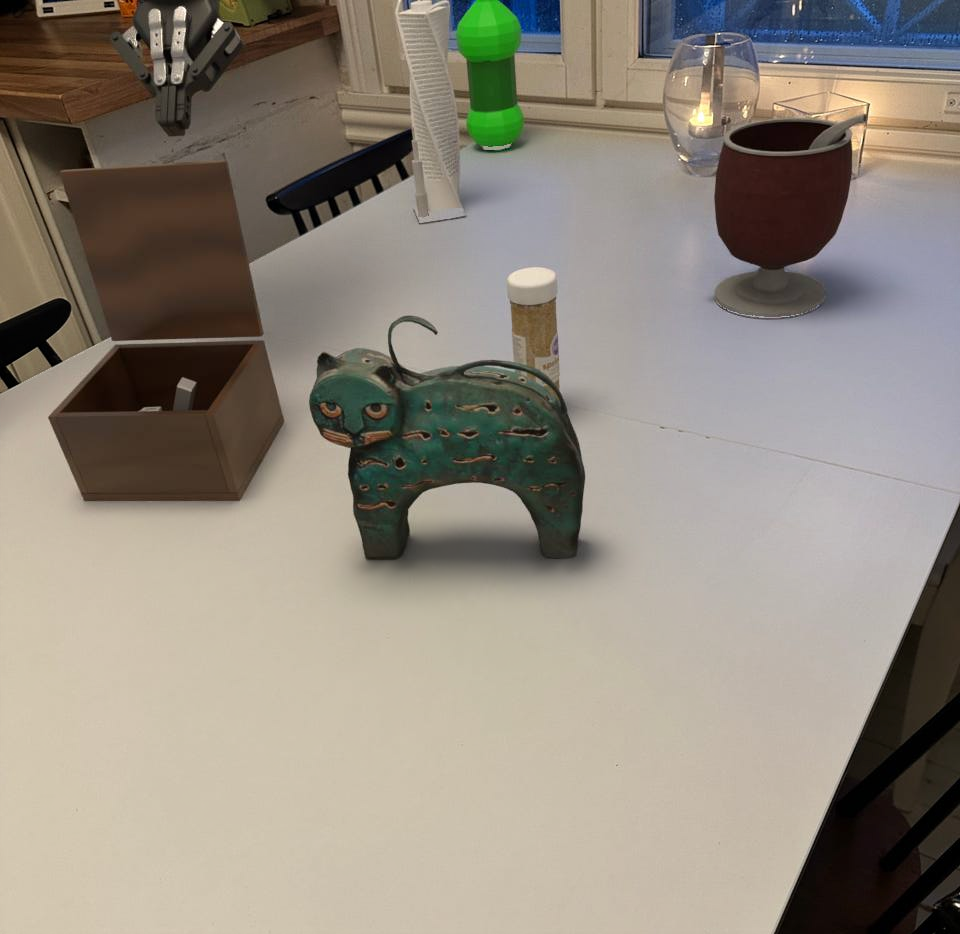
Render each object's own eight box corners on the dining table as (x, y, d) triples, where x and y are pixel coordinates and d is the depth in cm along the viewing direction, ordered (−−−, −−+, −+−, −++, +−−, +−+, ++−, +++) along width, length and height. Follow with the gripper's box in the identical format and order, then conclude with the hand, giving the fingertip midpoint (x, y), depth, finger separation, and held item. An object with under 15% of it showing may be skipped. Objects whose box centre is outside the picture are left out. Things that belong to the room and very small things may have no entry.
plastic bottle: (459, 156, 164) (442, -19, 148) (479, 138, 172) (465, -30, 155) (515, 156, 161) (504, -23, 145) (533, 137, 169) (524, -34, 152)
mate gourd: (682, 302, 112) (692, 111, 98) (755, 264, 118) (774, 80, 105) (796, 337, 102) (824, 132, 89) (869, 294, 109) (905, 97, 95)
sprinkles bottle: (561, 419, 94) (555, 283, 85) (514, 420, 94) (504, 286, 85) (562, 396, 97) (557, 263, 88) (517, 398, 98) (508, 266, 89)
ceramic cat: (342, 567, 79) (288, 335, 66) (360, 522, 84) (313, 297, 70) (584, 570, 76) (579, 327, 62) (588, 523, 80) (584, 287, 67)
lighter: (143, 463, 93) (115, 388, 88) (149, 454, 94) (122, 379, 89) (213, 460, 92) (189, 384, 87) (218, 451, 94) (195, 375, 88)
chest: (239, 500, 88) (213, 414, 82) (83, 500, 91) (47, 417, 85) (284, 420, 99) (264, 339, 93) (143, 423, 101) (115, 344, 95)
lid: (223, 161, 83) (226, 159, 84) (58, 171, 86) (63, 169, 86) (261, 336, 92) (264, 333, 93) (111, 341, 95) (115, 338, 95)
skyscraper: (411, 206, 146) (383, -12, 128) (463, 198, 147) (443, -20, 129) (419, 224, 140) (390, -4, 122) (473, 215, 141) (452, -12, 122)
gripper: (262, -23, 94) (254, 149, 93) (136, -12, 96) (127, 157, 95) (230, -85, 86) (221, 102, 85) (94, -71, 88) (84, 112, 87)
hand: (172, 131), depth 90 cm, fingers closed
